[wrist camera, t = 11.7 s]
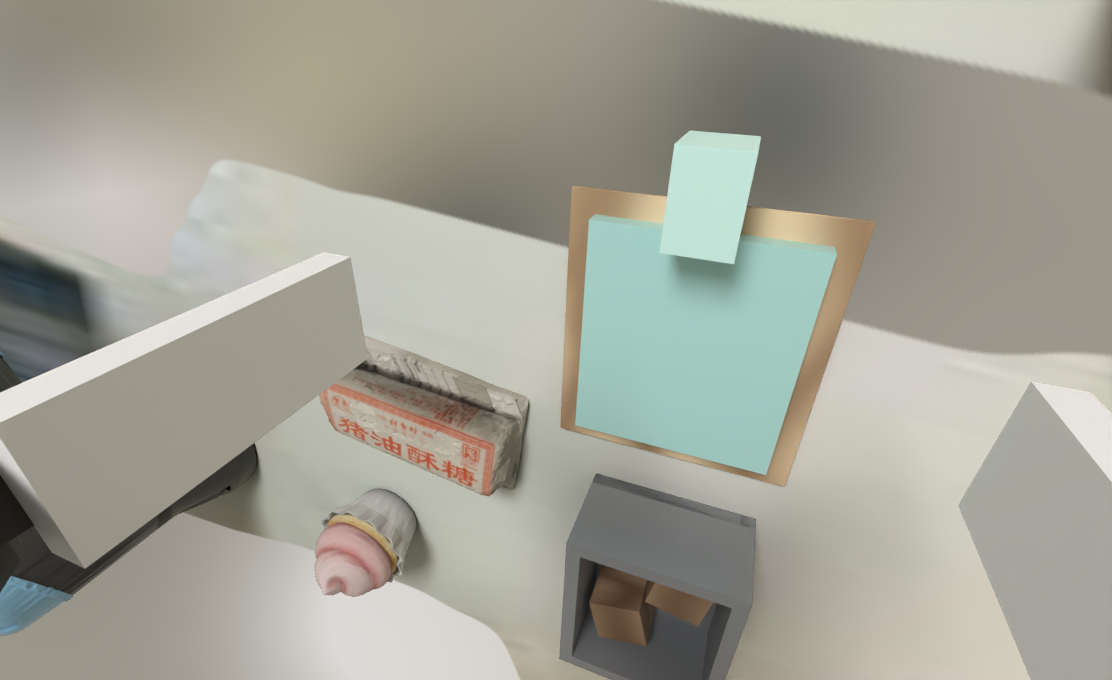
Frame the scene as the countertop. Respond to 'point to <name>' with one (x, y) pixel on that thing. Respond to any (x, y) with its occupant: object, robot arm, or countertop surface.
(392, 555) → the cupcake
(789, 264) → the lid
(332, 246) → the countertop surface
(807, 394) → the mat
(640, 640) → the block
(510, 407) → the packaged product
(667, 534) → the tub
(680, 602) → the block
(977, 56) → the countertop surface
